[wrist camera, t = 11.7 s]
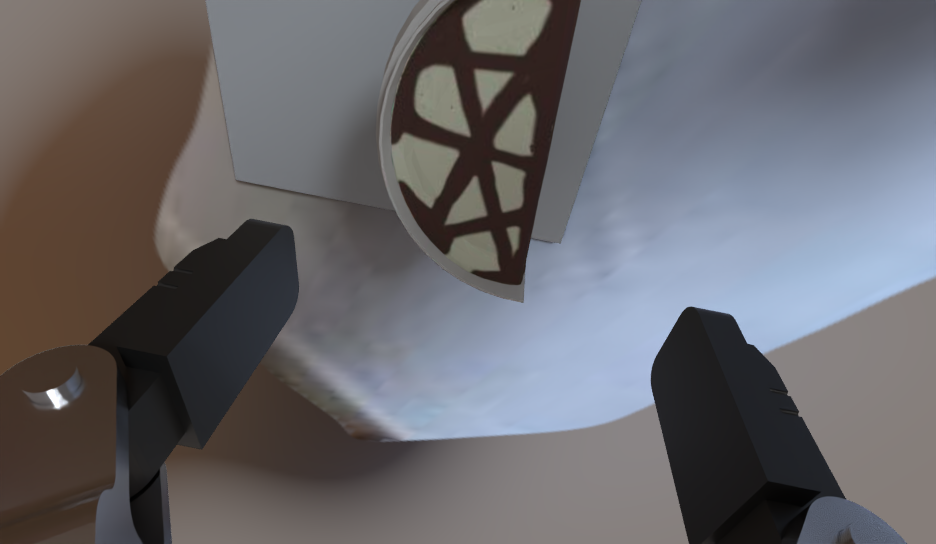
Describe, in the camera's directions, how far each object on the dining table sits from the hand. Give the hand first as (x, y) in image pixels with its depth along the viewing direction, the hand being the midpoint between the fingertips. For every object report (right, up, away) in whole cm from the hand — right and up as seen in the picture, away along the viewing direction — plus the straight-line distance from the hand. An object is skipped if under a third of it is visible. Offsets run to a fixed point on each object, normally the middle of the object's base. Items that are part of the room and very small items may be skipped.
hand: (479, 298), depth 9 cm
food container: (+1, +10, +13) cm, 17 cm away
